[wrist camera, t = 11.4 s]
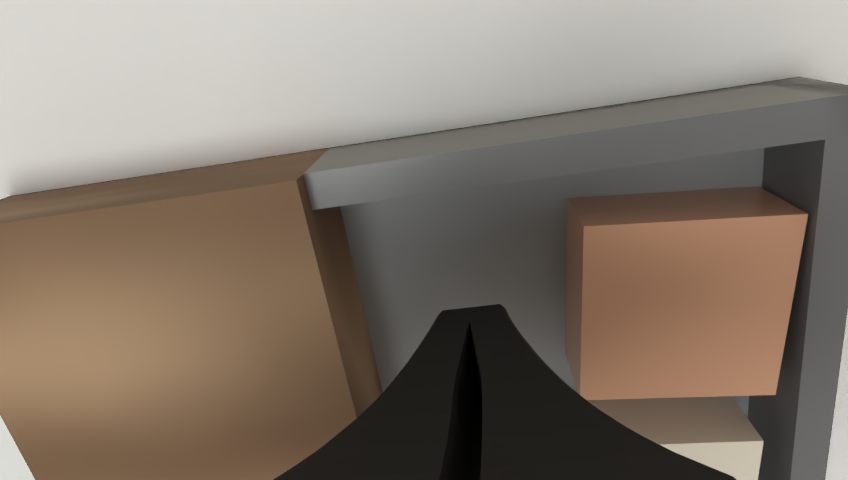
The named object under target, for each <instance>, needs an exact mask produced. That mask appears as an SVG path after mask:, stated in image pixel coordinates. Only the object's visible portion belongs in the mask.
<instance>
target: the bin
mask: <svg viewBox="0 0 848 480" xmlns="http://www.w3.org/2000/svg"><path fill="white" fill-rule="evenodd" d="M303 176H304V180H305V184H306V188H307V192H308V196H309V200H310V204H311V208H312V210H316V209H323V208H330V207H338V206H340V209H341V213H342V217H343V222H344V226H345V230H346V235H347V239H348V243H349V248H350V252H351V256H352V261H353V265H354V270H355V274H356V278H357V283H358V287H359V291H360V296H361V300H362V304H363V309H364V313H365V318H366V322H367V326H368V331H369V335H370V339H371V344H372V348H373V352H374V357H375V361H376V366H377V370H378V374H379V379H380V383H381V387H382V392H384V391H385V389H386V388H387V387H388V386H389V385H390V383H391V382H392V381H393V380H394V378H395V377H396V376H397V375H398V373H399V372H400V371H401V370H402V369H403V367H404V366H405V365H406V363H407V362H408V361H409V359H410V358H411V356H412V355H413V353H414V352H415V351H416V349H417V348H418V346H419V345H420V343H421V342H422V340H423V339H424V337H425V336H426V334H427V333H428V331H429V329H430V328H431V326H432V324H433V323H434V321H435V319H436V318H437V316H438V315H439V314H440V312H441V311H442V310H451V309H460V308H468V307H477V306H486V305H495V304H501V305H502V306H503V307H505V308H506V311H507V313H508V315H509V317H510V319H511V320H512V322H513V323H514V325H515V326H516V328H517V329H518V331H519V332H520V334H521V335H522V336H523V337H524V339H525V340H526V341H527V342H528V344H529V345H530V346H531V347H532V348H533V350H534V351H535V352H536V353H537V354H538V356H539V357H540V358H541V359H542V360H543V361H544V362H545V363H546V364H547V365H548V366H549V367H550V368H551V369H552V370H553V371H554V372H555V373H556V374H557V375H558V376H559V377H560V378H561V379H562V380H563V381H564V382H565V383H566V384H568V385H569V386H570V387H571V388H572V389H573V390H575V391H576V392H577V389H576V386H575V383H574V380H573V376H572V373H571V370H570V367H569V363H568V360H567V357H566V261H567V198H578V197H594V196H610V195H627V194H643V193H659V192H676V191H692V190H708V189H725V188H741V187H757V186H760V187H761V188H763V189H765V190H767V191H769V192H770V193H772V194H774V195H776V196H777V197H779V198H781V199H783V200H785V201H786V202H788V203H790V204H792V205H793V206H795V207H797V208H799V209H801V210H802V211H804V212H806V213H808V218H807V224H806V229H805V235H804V241H803V246H802V252H801V257H800V263H799V268H798V274H797V279H796V285H795V290H794V296H793V301H792V307H791V312H790V318H789V324H788V329H787V335H786V340H785V346H784V351H783V357H782V362H781V368H780V373H779V379H778V384H777V390H776V395H755V396H732V397H733V399H734V400H735V401H736V403H737V404H738V406H739V407H740V408H741V410H742V411H743V413H744V414H745V415H746V417H747V418H748V420H749V421H750V422H751V424H752V425H753V427H754V428H755V429H756V431H757V432H758V434H759V435H760V436H761V438H762V439H763V441H764V442H763V449H762V455H761V462H760V468H759V475H758V480H825V476H826V468H827V460H828V453H829V445H830V438H831V430H832V422H833V415H834V407H835V400H836V392H837V385H838V377H839V369H840V362H841V354H842V347H843V339H844V331H845V324H846V316H847V309H848V85H843V84H837V83H831V82H826V81H820V80H814V79H808V78H802V77H796V78H789V79H783V80H776V81H769V82H763V83H756V84H750V85H743V86H736V87H730V88H723V89H717V90H710V91H703V92H697V93H690V94H683V95H677V96H670V97H664V98H657V99H650V100H644V101H637V102H631V103H624V104H617V105H611V106H604V107H597V108H591V109H584V110H578V111H571V112H564V113H558V114H551V115H545V116H538V117H531V118H525V119H518V120H511V121H505V122H498V123H492V124H485V125H478V126H472V127H465V128H459V129H452V130H445V131H439V132H432V133H425V134H419V135H412V136H406V137H399V138H392V139H386V140H379V141H372V142H366V143H359V144H353V145H346V146H339V147H333V148H329V149H328V150H327V151H326V152H325V153H324V154H323V155H322V156H321V157H320V158H319V159H318V160H317V161H316V162H315V163H314V164H313V165H312V166H311V167H310V168H309V169H308V170H306V171H305V172H304V173H303Z"/></svg>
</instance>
